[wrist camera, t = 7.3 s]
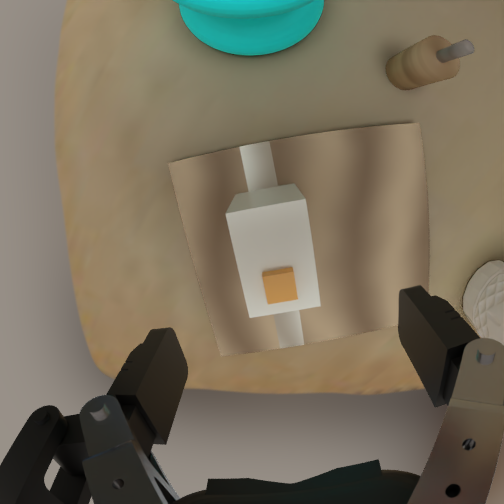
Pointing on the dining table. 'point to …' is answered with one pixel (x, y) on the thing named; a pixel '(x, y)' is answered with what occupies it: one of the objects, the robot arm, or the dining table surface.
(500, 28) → the dining table surface
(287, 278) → the white block
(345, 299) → the board
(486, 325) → the white cup
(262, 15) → the donuts
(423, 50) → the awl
